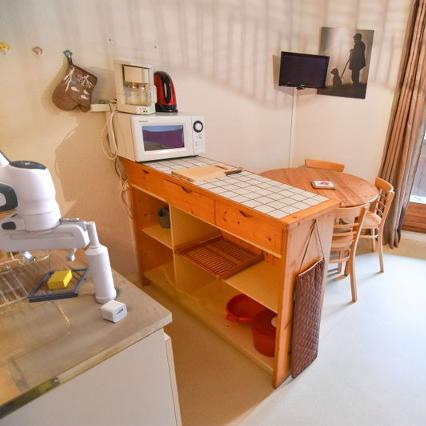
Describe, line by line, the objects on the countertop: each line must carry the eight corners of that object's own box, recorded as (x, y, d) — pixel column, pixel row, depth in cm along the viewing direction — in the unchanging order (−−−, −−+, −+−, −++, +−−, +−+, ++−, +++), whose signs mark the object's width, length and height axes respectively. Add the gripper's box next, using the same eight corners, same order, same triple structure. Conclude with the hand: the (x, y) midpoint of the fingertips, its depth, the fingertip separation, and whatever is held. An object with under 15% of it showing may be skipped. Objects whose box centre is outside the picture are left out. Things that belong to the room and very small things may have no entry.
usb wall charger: (114, 323, 86) (112, 311, 84) (95, 316, 88) (92, 304, 86) (127, 314, 89) (125, 302, 88) (108, 307, 91) (106, 296, 90)
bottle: (118, 291, 98) (103, 218, 88) (115, 302, 93) (99, 226, 84) (98, 294, 96) (81, 219, 86) (94, 305, 92) (75, 227, 82)
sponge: (66, 290, 96) (63, 280, 94) (49, 292, 95) (46, 282, 93) (73, 279, 101) (70, 269, 100) (57, 280, 100) (55, 271, 98)
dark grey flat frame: (29, 302, 90) (27, 297, 90) (49, 276, 102) (47, 271, 101) (76, 297, 94) (74, 291, 93) (90, 272, 105) (89, 267, 105)
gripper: (88, 213, 95) (96, 253, 100) (2, 215, 88) (15, 258, 93) (81, 222, 89) (89, 264, 94) (-12, 224, 83) (2, 270, 88)
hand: (51, 261), depth 94 cm, fingers open, 8 cm apart
